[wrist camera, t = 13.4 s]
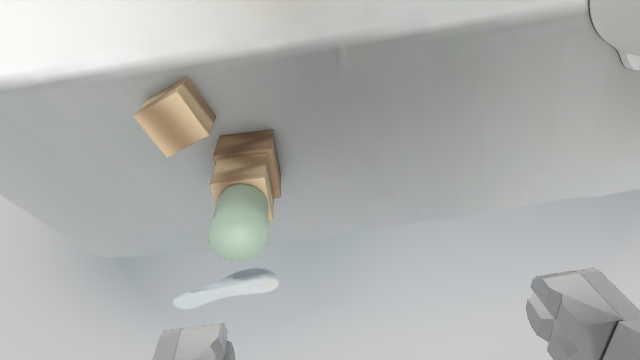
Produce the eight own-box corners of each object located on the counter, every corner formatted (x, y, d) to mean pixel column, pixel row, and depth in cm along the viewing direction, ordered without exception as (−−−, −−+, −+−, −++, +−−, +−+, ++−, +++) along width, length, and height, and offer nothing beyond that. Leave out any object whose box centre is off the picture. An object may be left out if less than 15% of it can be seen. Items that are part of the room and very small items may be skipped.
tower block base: (272, 129, 44) (272, 148, 40) (280, 174, 47) (280, 197, 43) (219, 135, 44) (213, 156, 40) (231, 181, 47) (226, 204, 43)
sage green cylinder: (264, 181, 36) (262, 214, 32) (271, 222, 38) (270, 258, 34) (212, 186, 36) (202, 220, 31) (222, 227, 38) (215, 263, 34)
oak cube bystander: (187, 76, 40) (176, 91, 36) (216, 116, 43) (209, 135, 38) (148, 98, 41) (133, 116, 37) (178, 136, 44) (167, 157, 39)
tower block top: (266, 152, 40) (264, 177, 36) (273, 193, 43) (272, 221, 38) (217, 158, 40) (209, 184, 36) (228, 199, 42) (221, 227, 38)
